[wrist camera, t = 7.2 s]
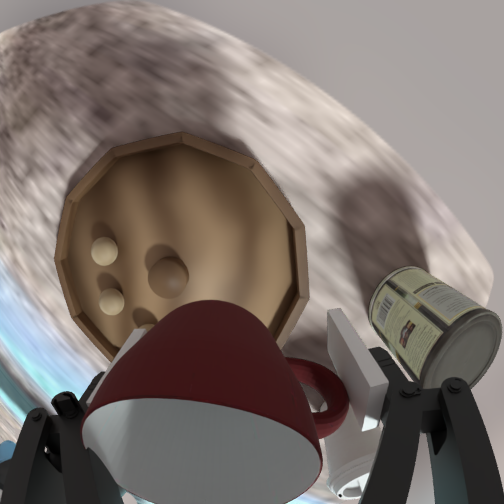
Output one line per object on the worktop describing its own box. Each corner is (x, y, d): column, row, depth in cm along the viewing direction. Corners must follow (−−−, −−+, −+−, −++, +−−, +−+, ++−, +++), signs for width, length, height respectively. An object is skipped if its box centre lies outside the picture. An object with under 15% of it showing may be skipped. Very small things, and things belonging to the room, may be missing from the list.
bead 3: (145, 341, 31) (137, 355, 28) (138, 319, 30) (129, 332, 28) (167, 340, 31) (161, 354, 28) (161, 318, 30) (154, 331, 28)
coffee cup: (313, 387, 35) (339, 475, 20) (376, 378, 35) (419, 453, 20) (306, 429, 37) (322, 507, 23) (362, 421, 37) (391, 491, 23)
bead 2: (109, 309, 30) (99, 320, 27) (102, 285, 29) (91, 295, 26) (131, 307, 30) (121, 319, 27) (124, 283, 29) (113, 293, 26)
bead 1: (102, 262, 29) (89, 270, 26) (96, 236, 28) (83, 242, 25) (124, 259, 29) (113, 267, 26) (119, 232, 28) (106, 238, 25)
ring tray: (106, 372, 34) (98, 384, 31) (53, 172, 27) (38, 172, 24) (307, 361, 34) (312, 376, 31) (288, 123, 27) (292, 117, 24)
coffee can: (432, 324, 33) (490, 379, 19) (369, 347, 33) (416, 420, 20) (434, 256, 31) (510, 296, 17) (365, 276, 31) (430, 337, 17)
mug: (334, 271, 16) (432, 381, 6) (313, 382, 18) (353, 505, 8) (147, 262, 15) (44, 367, 6) (158, 376, 17) (116, 498, 8)
